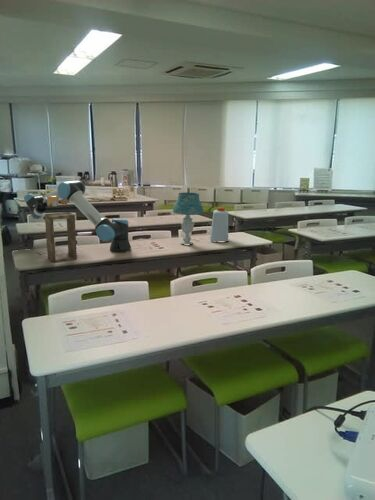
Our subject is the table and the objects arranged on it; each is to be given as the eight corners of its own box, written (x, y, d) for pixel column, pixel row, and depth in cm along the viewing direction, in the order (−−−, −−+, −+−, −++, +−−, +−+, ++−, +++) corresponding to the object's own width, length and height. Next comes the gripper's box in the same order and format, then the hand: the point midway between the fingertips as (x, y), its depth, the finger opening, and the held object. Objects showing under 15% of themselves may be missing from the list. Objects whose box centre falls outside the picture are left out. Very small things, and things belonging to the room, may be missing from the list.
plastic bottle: (209, 242, 301) (211, 208, 293) (210, 238, 315) (212, 205, 308) (228, 243, 300) (230, 209, 292) (228, 239, 314) (230, 206, 306)
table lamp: (207, 245, 291) (210, 195, 279) (182, 249, 278) (184, 196, 267) (190, 238, 310) (192, 191, 298) (166, 242, 297) (167, 192, 285)
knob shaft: (49, 200, 261) (49, 192, 260) (60, 205, 245) (59, 196, 243) (39, 201, 257) (38, 193, 256) (49, 206, 241) (48, 197, 239)
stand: (71, 254, 254) (69, 212, 246) (76, 258, 246) (74, 214, 238) (47, 258, 245) (44, 214, 236) (52, 262, 237) (49, 216, 229)
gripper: (52, 213, 275) (61, 201, 256) (30, 214, 265) (37, 202, 246) (50, 203, 276) (58, 191, 257) (27, 205, 266) (34, 192, 247)
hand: (48, 197), depth 252 cm, fingers closed on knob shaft, 3 cm apart
